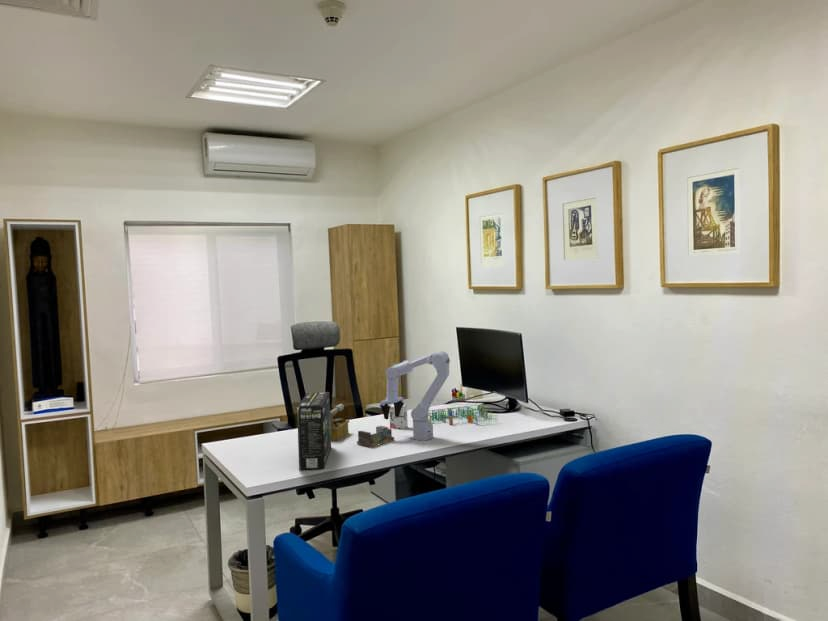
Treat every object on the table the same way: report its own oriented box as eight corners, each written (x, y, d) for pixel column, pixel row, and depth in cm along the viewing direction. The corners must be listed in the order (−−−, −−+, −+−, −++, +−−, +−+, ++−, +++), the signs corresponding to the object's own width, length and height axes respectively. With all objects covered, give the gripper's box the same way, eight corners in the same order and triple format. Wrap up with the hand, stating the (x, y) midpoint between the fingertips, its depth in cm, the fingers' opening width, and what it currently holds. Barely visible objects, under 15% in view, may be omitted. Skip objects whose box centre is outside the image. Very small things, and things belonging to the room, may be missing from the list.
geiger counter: (350, 432, 316) (349, 403, 315) (333, 445, 291) (331, 414, 290) (334, 432, 318) (333, 403, 318) (315, 445, 293) (313, 414, 292)
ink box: (389, 428, 322) (388, 405, 322) (394, 425, 327) (393, 403, 326) (403, 429, 318) (402, 406, 318) (408, 427, 323) (407, 404, 322)
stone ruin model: (380, 437, 303) (380, 424, 303) (394, 439, 297) (393, 426, 297) (357, 444, 291) (356, 430, 291) (370, 447, 285) (369, 433, 285)
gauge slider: (380, 433, 300) (380, 425, 300) (391, 435, 296) (390, 427, 295) (376, 435, 298) (376, 426, 298) (386, 437, 293) (386, 428, 293)
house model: (478, 412, 354) (478, 404, 353) (503, 423, 326) (503, 414, 326) (421, 419, 341) (421, 411, 341) (442, 430, 314) (442, 421, 314)
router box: (325, 469, 254) (322, 405, 252) (298, 471, 253) (295, 406, 252) (332, 446, 289) (329, 390, 288) (308, 448, 289) (306, 391, 287)
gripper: (396, 387, 310) (395, 414, 311) (376, 391, 300) (375, 418, 301) (406, 389, 306) (406, 416, 307) (386, 393, 295) (385, 421, 296)
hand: (391, 417), depth 303 cm, fingers open, 7 cm apart
